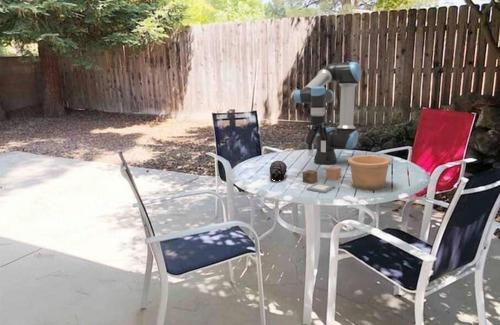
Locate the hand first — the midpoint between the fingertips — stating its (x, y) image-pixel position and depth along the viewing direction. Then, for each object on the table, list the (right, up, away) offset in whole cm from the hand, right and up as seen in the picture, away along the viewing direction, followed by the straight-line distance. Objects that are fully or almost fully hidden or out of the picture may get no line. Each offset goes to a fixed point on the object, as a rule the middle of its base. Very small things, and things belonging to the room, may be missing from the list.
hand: (317, 153), depth 226 cm
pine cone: (-20, -14, +15) cm, 29 cm away
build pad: (+1, -19, -8) cm, 21 cm away
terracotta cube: (+11, -14, +11) cm, 21 cm away
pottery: (+27, -17, -6) cm, 32 cm away
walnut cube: (-3, -16, +6) cm, 17 cm away
